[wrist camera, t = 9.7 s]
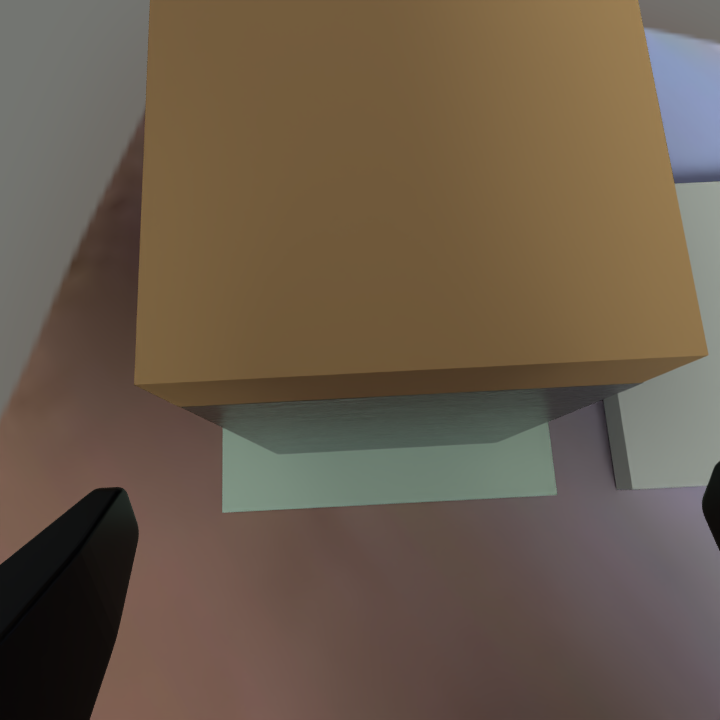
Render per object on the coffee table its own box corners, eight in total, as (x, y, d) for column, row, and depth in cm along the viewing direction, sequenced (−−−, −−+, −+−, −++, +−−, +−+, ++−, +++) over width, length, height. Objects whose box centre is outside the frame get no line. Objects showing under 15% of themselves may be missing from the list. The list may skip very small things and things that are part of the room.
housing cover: (593, 402, 9) (709, 354, 6) (211, 422, 9) (133, 385, 6) (545, 76, 10) (619, -96, 7) (214, 92, 10) (153, -74, 7)
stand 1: (545, 495, 16) (557, 495, 15) (230, 511, 16) (222, 512, 15) (510, 208, 18) (518, 192, 17) (231, 222, 18) (224, 207, 17)
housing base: (496, 442, 16) (643, 383, 7) (277, 454, 16) (181, 407, 7) (474, 240, 17) (578, 1, 9) (273, 251, 17) (189, 21, 9)
